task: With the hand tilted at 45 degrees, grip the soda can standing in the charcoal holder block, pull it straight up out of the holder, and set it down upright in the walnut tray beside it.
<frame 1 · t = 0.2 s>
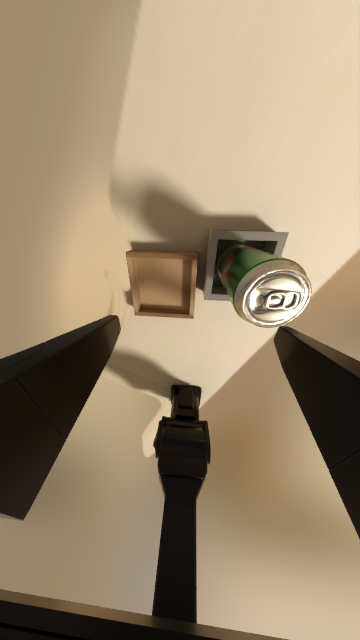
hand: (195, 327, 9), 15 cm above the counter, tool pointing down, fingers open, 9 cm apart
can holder: (235, 264, 21), on the counter
soda can: (235, 264, 21), resting in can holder
walnut tray: (165, 283, 23), on the counter
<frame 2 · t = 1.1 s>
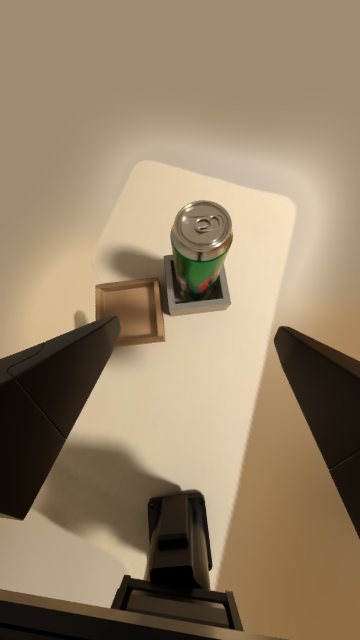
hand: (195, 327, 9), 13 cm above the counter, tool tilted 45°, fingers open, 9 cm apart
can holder: (194, 287, 23), on the counter
soda can: (194, 288, 24), resting in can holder
walnut tray: (132, 314, 23), on the counter
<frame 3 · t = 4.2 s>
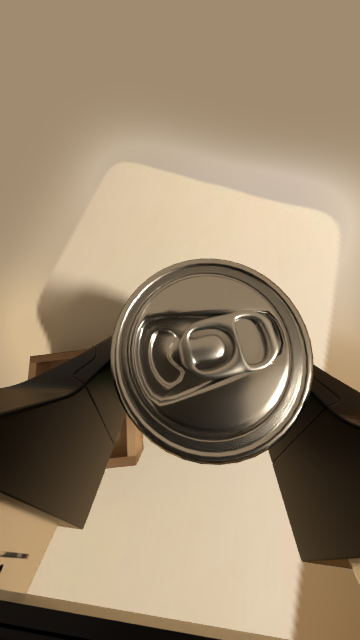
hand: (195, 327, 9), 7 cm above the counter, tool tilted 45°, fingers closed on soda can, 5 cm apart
soda can: (191, 354, 15), resting in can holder, touching gripper
walnut tray: (93, 399, 14), on the counter
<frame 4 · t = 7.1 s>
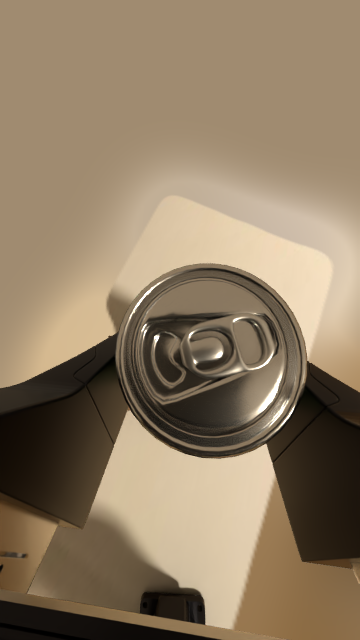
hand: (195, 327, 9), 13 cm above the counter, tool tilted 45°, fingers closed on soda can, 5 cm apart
soda can: (191, 353, 15), point 6 cm above the counter, touching gripper
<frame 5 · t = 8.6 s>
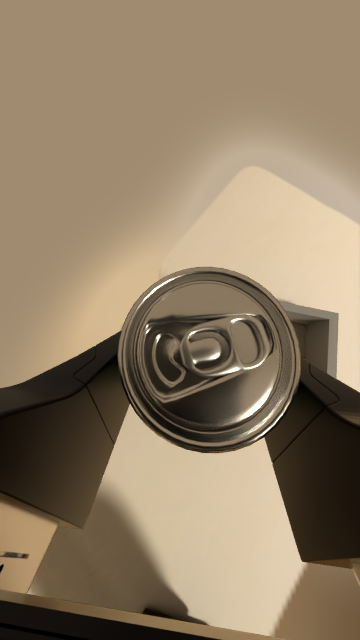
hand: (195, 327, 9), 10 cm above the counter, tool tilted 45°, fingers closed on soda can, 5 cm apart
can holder: (276, 344, 18), on the counter
soda can: (191, 353, 16), point 3 cm above the counter, touching gripper
when the fingers open (8 cm above the counter, at t = 9.7 s): soda can stays where it is, resting on walnut tray.
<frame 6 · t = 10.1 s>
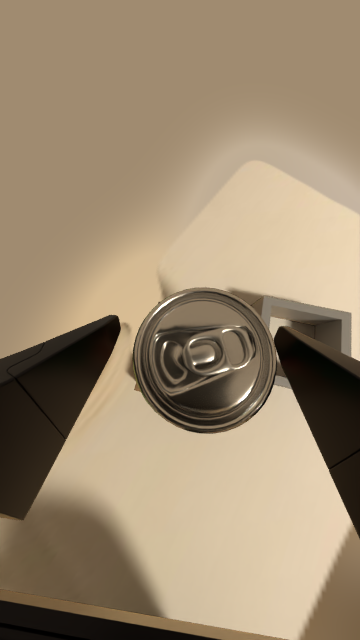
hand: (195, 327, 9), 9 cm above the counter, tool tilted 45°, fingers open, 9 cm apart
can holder: (283, 347, 17), on the counter
soda can: (190, 355, 17), resting on walnut tray
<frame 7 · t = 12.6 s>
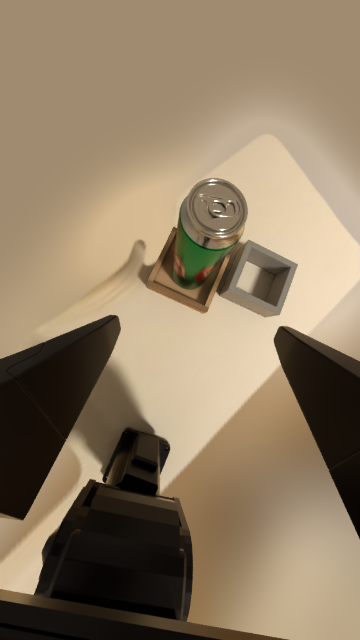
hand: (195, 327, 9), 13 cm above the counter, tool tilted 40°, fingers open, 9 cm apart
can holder: (251, 283, 24), on the counter
soda can: (188, 274, 23), resting on walnut tray
walnut tray: (187, 274, 23), on the counter
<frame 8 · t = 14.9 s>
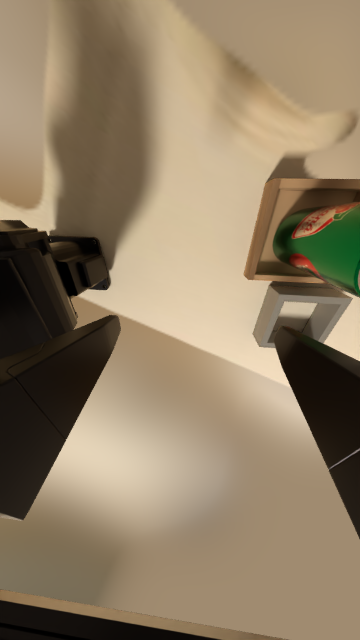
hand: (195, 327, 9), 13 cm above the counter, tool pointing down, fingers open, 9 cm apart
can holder: (288, 313, 22), on the counter
soda can: (294, 237, 17), resting on walnut tray
walnut tray: (294, 236, 17), on the counter
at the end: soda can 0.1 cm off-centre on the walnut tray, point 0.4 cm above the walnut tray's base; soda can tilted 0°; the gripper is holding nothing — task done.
